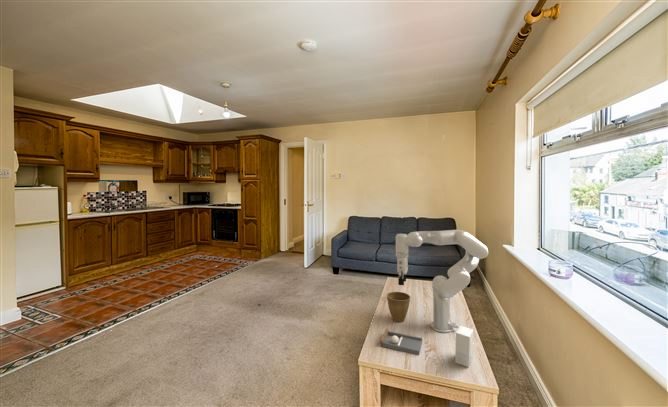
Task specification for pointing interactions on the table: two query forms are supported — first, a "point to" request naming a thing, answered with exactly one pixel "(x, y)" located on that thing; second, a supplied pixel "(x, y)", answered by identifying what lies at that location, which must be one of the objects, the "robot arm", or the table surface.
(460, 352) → the skincare box
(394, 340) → the ball
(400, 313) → the plant pot
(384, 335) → the tray
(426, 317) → the table surface
